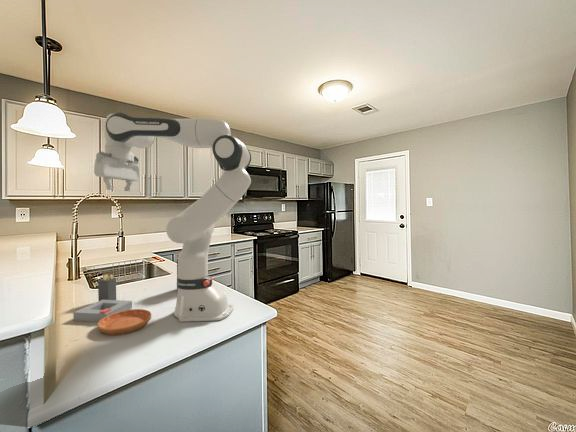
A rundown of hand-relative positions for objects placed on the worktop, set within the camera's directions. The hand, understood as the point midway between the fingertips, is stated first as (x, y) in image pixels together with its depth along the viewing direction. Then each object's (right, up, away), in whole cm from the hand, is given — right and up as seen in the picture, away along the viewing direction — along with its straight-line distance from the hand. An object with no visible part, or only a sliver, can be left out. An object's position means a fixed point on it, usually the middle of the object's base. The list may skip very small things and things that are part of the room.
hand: (119, 190), depth 104 cm
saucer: (+11, -49, -13) cm, 52 cm away
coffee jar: (+18, -47, +26) cm, 57 cm away
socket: (-3, -48, -4) cm, 48 cm away
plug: (-11, -48, +9) cm, 50 cm away
